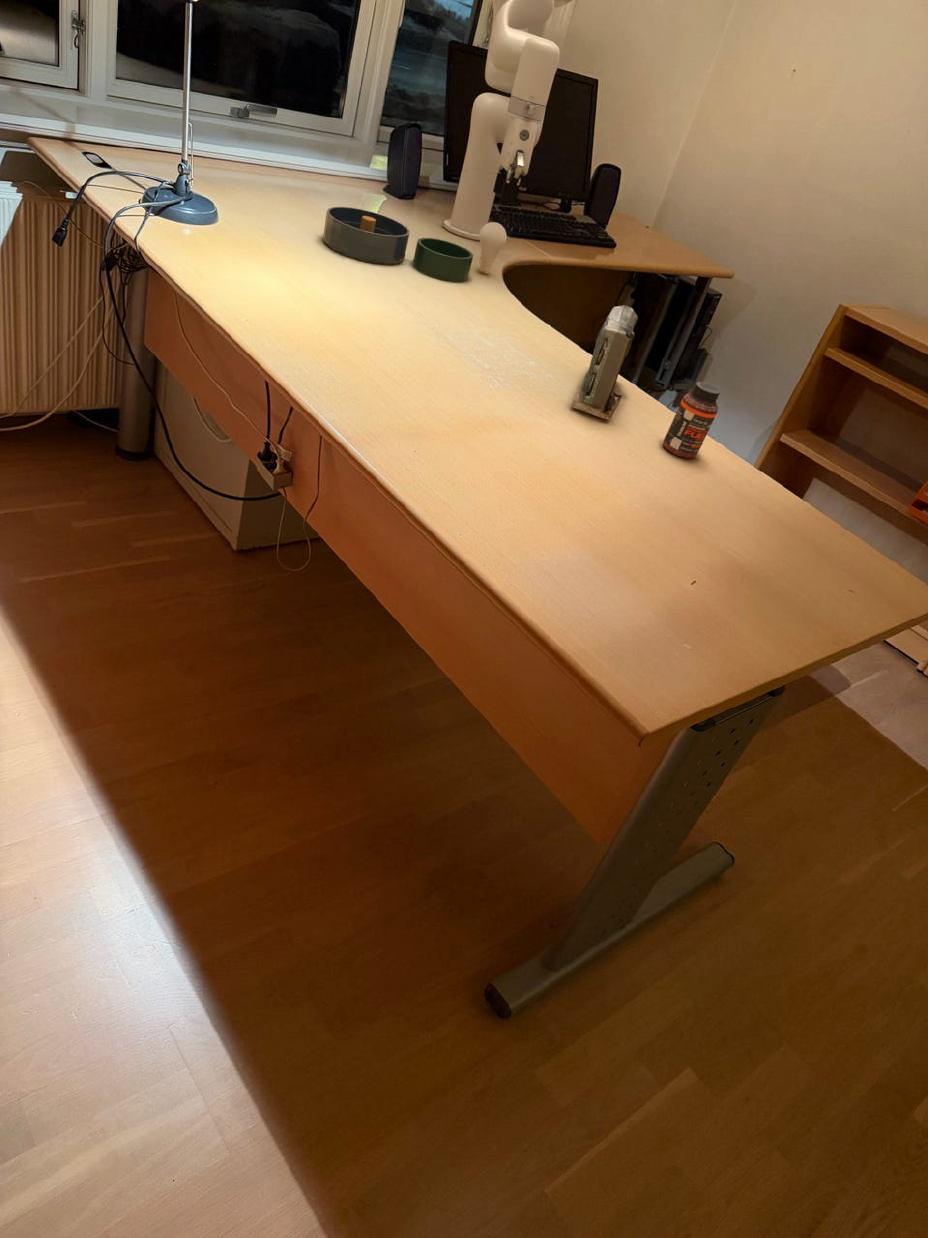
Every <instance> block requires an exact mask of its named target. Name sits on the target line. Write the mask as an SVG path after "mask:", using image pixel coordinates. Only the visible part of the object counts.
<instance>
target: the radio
mask: <svg viewBox="0 0 928 1238" xmlns="http://www.w3.org/2000/svg"><path fill="white" fill-rule="evenodd" d="M638 320H639V319H638V315H637V313H636V312H635V310H634V309H633V308H632V307H630V306H628V305H626V304H623V305H618V306H613V307H612V309H611V310H610V312H609V314H608V316H607V317H606V320H605V322H604V323H603V325H602V326H601V328H600V330H599V332H598V334H597V338H596V341H595V346H594V349H593V352H592V353H593V354H592V357H591V359H590V363H589V367H588V370H587V371H586V373H585V374H584V377H583V381H582V384H581V386H580V387H579V388H578V390H577V391H576V393H575V394H574V395H573V398H572V402H571V408H574V409H576V410H580V411H583V412H585V413H588V414H590V415H593V416H596V417H599V418H601V419H604V420H608V421H609V420H610V418H612V417H611V416H612V415H613V413H614V411H615V410H616V408H617V406H618V404H619V402H620V401H621V398H622V397H623V393H622V391H620V390H619V389H618V387H617V386H618V384H619V383H618V382H617V380H618V377H619V374H620V372H621V368H622V366H623V363H624V361H625V358H626V357H627V356H628V354H629V352H630V351H631V350H630V349H631V347H632V343H633V340H634V339H635V336H636V335H635V332H634V329H635V326H636V324H637V322H638Z"/></svg>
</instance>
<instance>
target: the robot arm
mask: <svg viewBox="0 0 928 1238" xmlns="http://www.w3.org/2000/svg"><path fill="white" fill-rule="evenodd" d="M491 2H492V12H493V13H492V15H493V16H492V17H493V18H492V26H491V27H492V28H491V34H490V39H489V44H488V50H487V57H486V61H485V62H486V63H485V71H484V78H485V82H486V84H487V86H489V87H491V88H492V89H495V90H497V91H500V92H503V93H507V94H510V96H509V97H508V96H505V95H501V94H498V93H493V92H484V93H481V94H479V95H478V96H477V97H475V99H474V102H473V104H472V105H473V106H472V109H471V116H470V127H469V136H468V141H467V146H466V151H465V156H464V160H463V164H462V170H461V173H460V178H459V182H458V186H457V191H456V195H455V199H454V203H453V208H452V212H451V217H450V219H445V220H444V221H443V224H442V226H443V227H444V229H445V230H447V231H448V232H450V233H453V234H454V235H457V236H459V237H462V238H466V239H470V240H474V241H480V239H479V235H480V231H481V229H482V228H483V227H484V226H485V225H486V224H488V223H489V221H490V220H489V219H490V215H491V212H492V207H493V204H494V201H495V196H496V194H497V195H500V196H499V197H500V199H499V202H500V203H501V204H503V205H507V206H510V207H514V206H515V203H516V201H517V196H518V194H519V193H518V192H519V189H520V184H521V179H522V176H526V175H527V174H528V172H529V168H530V164H531V158H532V155H533V151H534V148H535V147H536V145H537V144H538V142H539V141H540V138H541V137H540V136H541V134H542V130H543V124H544V120H545V113H546V108H547V104H548V100H549V97H550V92H551V89H552V85H553V82H554V79H555V75H556V73H557V70H558V67H559V63H560V55H561V50H560V48H559V46H558V45H557V44H556V43H555V42H554V41H552V40H550V39H547V38H545V37H541V36H538V35H535V34H532V33H530V32H529V29H530V28H531V29H532V28H535V27H539V26H541V25H543V24H545V23H546V22H547V21H549V19H550V18H551V16H552V14H553V12H554V8H561V7H563V6H565V5H567V4H569V3H571V2H573V0H491ZM499 143H500V144H502V147H501V151H499V148H498V144H499Z"/></svg>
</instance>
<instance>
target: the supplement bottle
mask: <svg viewBox="0 0 928 1238" xmlns="http://www.w3.org/2000/svg"><path fill="white" fill-rule="evenodd" d="M692 389H693V390H692V391H691V392H688V393H686V394H685V395H683V396H682V399H681V401H680V403H679V405H678V407H677V409H676V412H675V414H674V417H673V419H672V421H671V423H670V425H669V428H668V430H667V432H666V434H665V436H664V438H663V442H662V443H663V446H664V447H665V449H666V450H667V451H668V452H670V453H671V454H673V455H674V456H677V457H680V458H685V459H692V458H696V456H697V455H698V453H699V452H700V449H701V448H702V446H703V445H704V444H703V443H704V441H705V439H706V437H707V435H708V434H709V432H710V428H711V427H712V424H713V422H714V421H715V418H716V416H717V414H718V411H719V405H718V403H717V401H718V399H719V396H720V394H721V390H720V389H719V388H717V387H716V386H715V385H712V384H710V383H708V382H704V381H697V382H696V383H695V385H694V387H693V388H692Z"/></svg>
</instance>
